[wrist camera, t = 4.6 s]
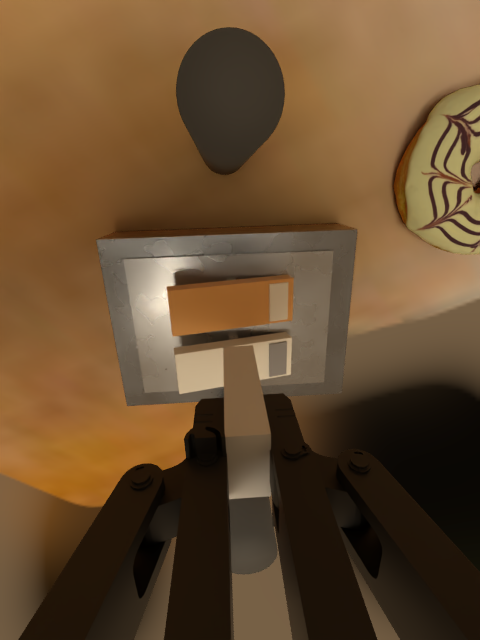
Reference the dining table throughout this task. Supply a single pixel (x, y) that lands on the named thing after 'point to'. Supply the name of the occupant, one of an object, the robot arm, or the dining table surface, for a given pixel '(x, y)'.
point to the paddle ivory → (207, 360)
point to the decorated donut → (444, 175)
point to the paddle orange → (230, 304)
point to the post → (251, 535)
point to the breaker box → (221, 265)
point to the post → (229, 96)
